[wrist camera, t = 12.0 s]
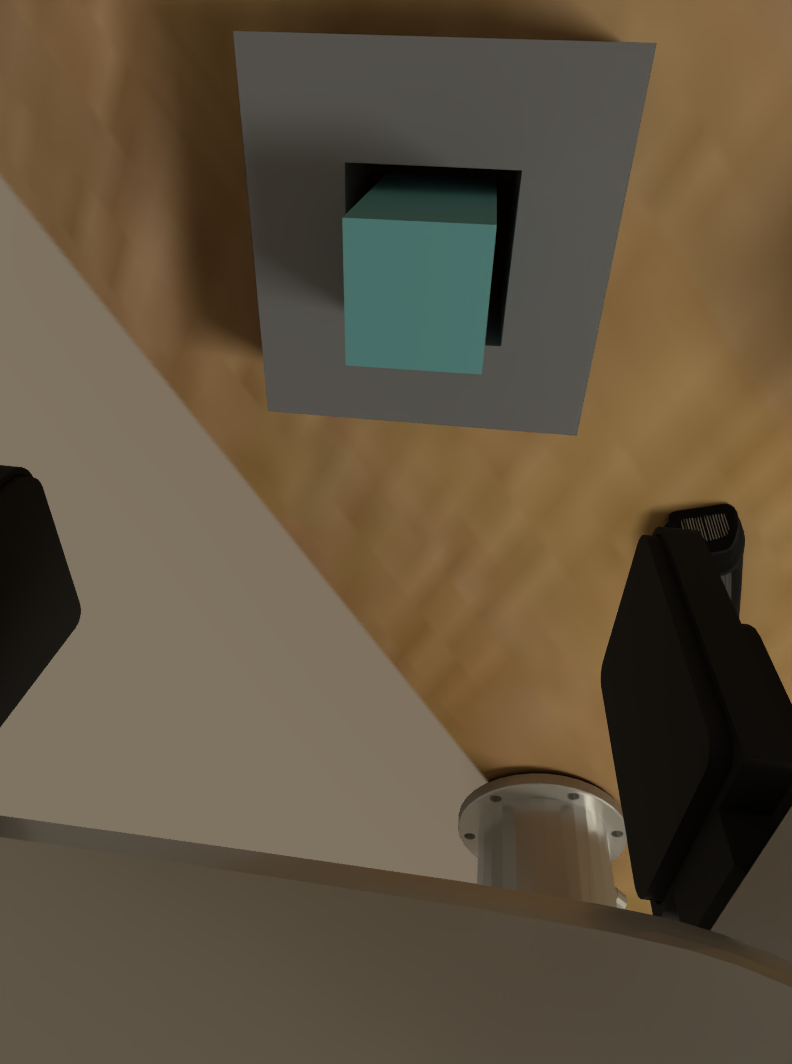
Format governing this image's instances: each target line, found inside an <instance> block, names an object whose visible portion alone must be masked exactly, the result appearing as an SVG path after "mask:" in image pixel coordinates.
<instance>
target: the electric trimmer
mask: <svg viewBox="0 0 792 1064" xmlns="http://www.w3.org/2000/svg"><path fill="white" fill-rule="evenodd" d="M665 527H669V528H680V529H691V530H698V531H700V532H701V534H702V536H703V538H704V540H705V542H706V545H707V547H708V549H709V551H710V554H711V556H712V558H713V561H714V563H715V565H716V567H717V570H718V572H719V574H720V576H721V579H722V581H723V583H724V586H725V588H726V590H727V592H728V595H729V597H730V599H731V601H732V604H733V606H734V608H735V610H736V613H737V615H738V617H739V612H740V599H741V585H742V567H743V553H744V546H745V536H744V531H743V528H742V525H741V522H740V519H739V518H738V514H737V511H736V510H735V508H734V507H733V506H731V505H729V504H721V505H714V506H708V507H701V508H695V509H688V510H682V511H675V512H673V513H671V514H670V515H669V523H667V524H666V525H665Z"/></svg>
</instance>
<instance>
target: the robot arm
mask: <svg viewBox="0 0 792 1064" xmlns="http://www.w3.org/2000/svg"><path fill="white" fill-rule="evenodd" d="M80 614H81V607H80V603H79V599H78V596H77V593H76V590H75V587H74V584H73V580H72V578H71V574H70V571H69V568H68V565H67V562H66V559H65V556H64V552H63V549H62V546H61V543H60V540H59V537H58V534H57V530H56V527H55V524H54V521H53V518H52V515H51V512H50V509H49V506H48V503H47V499H46V496H45V493H44V490H43V487H42V485H41V483H40V482H39V480H38V479H36V478H33V476H32V474H31V473H30V472H29V471H28V470H27V469H25V468H22V467H12V466H2V465H0V727H1V725H2V724H3V723H4V722H5V720H6V719H7V718H8V716H9V715H10V713H11V712H12V710H14V708H15V707H16V706H17V704H18V703H19V702H20V700H21V699H22V698H23V696H24V695H25V694H26V692H27V691H28V690H29V689H30V687H31V686H32V685H33V683H34V682H35V681H36V679H37V678H38V677H39V675H40V674H41V673H42V671H43V670H44V668H45V667H46V666H47V665H48V663H49V662H50V661H51V659H52V658H53V657H54V655H55V654H56V653H57V652H58V650H59V649H60V648H61V646H62V645H63V644H64V642H65V641H66V640H67V638H68V637H69V636H70V634H71V633H72V632H73V630H74V629H75V628H76V626H77V624H78V622H79V619H80ZM601 688H602V694H603V700H604V706H605V712H606V718H607V724H608V730H609V736H610V742H611V748H612V754H613V760H614V765H615V771H616V777H617V783H618V789H619V795H620V801H621V807H622V809H621V807H620V806H619V804H618V803H617V802H616V801H615V800H614V799H613V798H612V797H611V796H610V795H608V794H607V793H606V792H604V791H602V790H601V789H599V788H597V787H596V786H594V785H591V784H589V783H586V782H584V781H581V780H578V779H574V778H570V777H567V776H561V775H554V774H542V773H529V774H518V775H512V776H507V777H503V778H499V779H496V780H494V781H491V782H489V783H486V784H485V785H483V786H481V787H479V788H478V789H476V790H475V791H474V792H472V793H471V794H470V795H469V796H468V797H467V798H466V799H465V801H464V803H463V804H462V806H461V809H460V812H459V826H458V830H459V835H460V838H461V839H462V841H463V843H464V845H465V846H466V847H467V848H468V849H469V851H470V852H471V853H472V854H473V855H475V856H476V857H477V858H478V871H477V884H474V883H467V882H461V881H454V880H448V879H441V878H434V877H427V876H420V875H413V874H407V873H400V872H393V871H386V870H379V869H372V868H365V867H359V866H351V865H345V864H338V863H331V862H324V861H318V860H311V859H304V858H297V857H290V856H283V855H276V854H269V853H263V852H256V851H249V850H242V849H234V848H228V847H221V846H213V845H207V844H199V843H192V842H185V841H178V840H171V839H163V838H156V837H150V836H143V835H136V834H129V833H121V832H114V831H106V830H100V829H93V828H85V827H78V826H71V825H64V824H56V823H50V822H43V821H35V820H28V819H21V818H13V817H6V816H0V1064H792V704H791V702H790V700H789V697H788V695H787V693H786V691H785V689H784V687H783V685H782V682H781V680H780V678H779V676H778V674H777V672H776V669H775V667H774V665H773V663H772V661H771V659H770V656H769V654H768V652H767V650H766V648H765V646H764V644H763V641H762V639H761V637H760V635H759V634H758V632H757V631H756V629H755V628H754V627H752V626H750V625H749V624H741V622H740V620H739V617H738V615H737V613H736V610H735V608H734V606H733V604H732V601H731V599H730V597H729V595H728V592H727V590H726V588H725V586H724V583H723V581H722V579H721V576H720V574H719V572H718V570H717V567H716V565H715V563H714V561H713V558H712V556H711V554H710V551H709V549H708V547H707V545H706V542H705V540H704V538H703V536H702V534H701V532H700V531H698V530H691V529H680V528H669V527H657V528H656V529H655V531H654V532H653V535H652V536H650V535H642V536H641V537H640V539H639V542H638V544H637V548H636V551H635V555H634V558H633V561H632V565H631V568H630V572H629V575H628V578H627V582H626V585H625V589H624V592H623V595H622V599H621V602H620V605H619V609H618V612H617V616H616V619H615V622H614V626H613V629H612V633H611V636H610V639H609V643H608V646H607V650H606V653H605V656H604V660H603V664H602V669H601ZM627 843H628V849H629V855H630V861H631V867H632V873H633V879H634V884H635V889H636V892H637V895H638V897H639V898H640V899H645V900H650V901H651V907H652V912H653V915H649V914H644V913H640V912H635V911H630V910H625V907H626V905H627V897H626V895H625V894H623V893H622V892H621V891H620V890H619V889H617V888H616V887H615V885H614V878H613V871H612V864H611V862H612V861H614V860H615V859H616V858H617V857H618V856H619V855H620V854H621V853H622V851H623V850H624V848H625V846H626V844H627Z"/></svg>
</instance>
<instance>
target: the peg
mask: <svg viewBox="0 0 792 1064" xmlns="http://www.w3.org/2000/svg"><path fill="white" fill-rule="evenodd" d="M342 228H343V271H344V314H345V357H346V365H347V366H362V367H377V368H392V369H406V370H421V371H436V372H451V373H466V374H481V375H482V368H483V358H484V348H485V338H486V328H487V318H488V308H489V298H490V288H491V278H492V268H493V258H494V248H495V238H496V228H497V176H476V175H451V174H427V173H402V172H388V173H387V174H386V175H385V176H384V177H383V178H382V179H381V180H380V181H379V182H378V183H377V184H376V185H375V186H374V187H373V188H372V189H371V190H370V191H369V192H368V193H367V194H366V195H365V196H364V197H363V198H362V199H361V200H360V201H359V202H358V203H357V204H356V205H355V206H354V207H353V208H352V209H351V210H350V211H349V212H348V213H346V214H345V215H344V216H343V217H342Z"/></svg>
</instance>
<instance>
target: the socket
mask: <svg viewBox="0 0 792 1064" xmlns="http://www.w3.org/2000/svg"><path fill="white" fill-rule="evenodd" d="M233 37H234V47H235V58H236V69H237V80H238V91H239V102H240V113H241V123H242V134H243V145H244V156H245V167H246V178H247V189H248V199H249V210H250V221H251V232H252V243H253V254H254V265H255V275H256V286H257V297H258V308H259V319H260V330H261V341H262V351H263V362H264V373H265V384H266V395H267V406H268V411H272V412H285V413H297V414H310V415H323V416H335V417H348V418H361V419H373V420H386V421H399V422H411V423H424V424H437V425H449V426H462V427H475V428H487V429H500V430H513V431H525V432H538V433H550V434H563V435H576V436H577V431H578V426H579V421H580V417H581V412H582V407H583V402H584V397H585V392H586V387H587V382H588V377H589V372H590V367H591V363H592V358H593V353H594V348H595V343H596V338H597V333H598V328H599V323H600V318H601V313H602V309H603V304H604V299H605V294H606V289H607V284H608V279H609V274H610V269H611V264H612V260H613V255H614V250H615V245H616V240H617V235H618V230H619V225H620V220H621V215H622V210H623V206H624V201H625V196H626V191H627V186H628V181H629V176H630V171H631V166H632V161H633V156H634V152H635V147H636V142H637V137H638V132H639V127H640V122H641V117H642V112H643V107H644V102H645V98H646V93H647V88H648V83H649V78H650V73H651V68H652V63H653V58H654V53H655V48H656V44H657V43H636V42H601V41H567V40H532V39H498V38H463V37H429V36H395V35H360V34H326V33H291V32H257V31H233ZM368 163H371V164H393V165H415V166H437V167H459V168H481V169H502V170H516V178H515V187H514V195H513V204H512V213H511V221H510V230H509V238H508V247H507V256H506V264H505V273H504V282H503V290H502V299H501V307H500V308H494V307H489V308H488V318H487V328H486V338H485V348H484V358H483V368H482V375H481V374H466V373H451V372H436V371H421V370H406V369H392V368H377V367H362V366H347V365H346V357H345V314H344V271H343V228H342V217H343V216H344V215H345V214H346V213H348V212H349V211H350V210H351V209H352V208H353V207H354V206H355V205H356V204H357V203H358V202H359V201H360V200H361V199H362V198H363V197H364V196H365V195H366V194H367V193H368Z"/></svg>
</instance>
